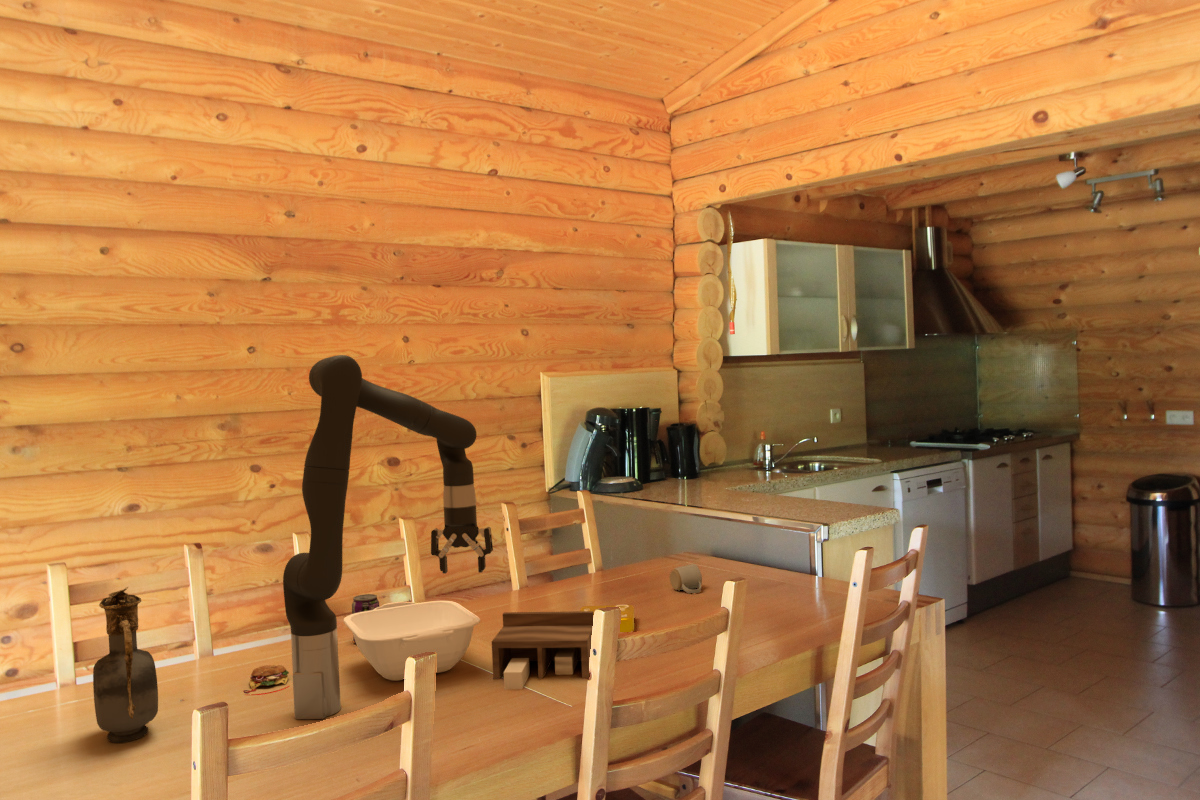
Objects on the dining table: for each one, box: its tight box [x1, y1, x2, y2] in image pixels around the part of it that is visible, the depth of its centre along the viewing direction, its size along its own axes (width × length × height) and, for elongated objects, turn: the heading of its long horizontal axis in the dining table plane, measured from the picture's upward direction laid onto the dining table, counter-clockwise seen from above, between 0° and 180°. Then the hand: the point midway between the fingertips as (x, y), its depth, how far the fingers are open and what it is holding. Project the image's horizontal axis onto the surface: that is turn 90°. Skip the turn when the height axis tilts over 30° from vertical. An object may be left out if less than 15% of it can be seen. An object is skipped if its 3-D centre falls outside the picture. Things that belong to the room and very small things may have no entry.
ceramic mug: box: [669, 563, 703, 594], centre depth 280 cm, size 11×8×8 cm
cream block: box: [503, 658, 531, 690], centre depth 202 cm, size 10×4×4 cm, turn 175°
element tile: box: [579, 604, 635, 632], centre depth 244 cm, size 15×15×5 cm
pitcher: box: [92, 586, 159, 744], centre depth 177 cm, size 11×19×30 cm, turn 33°
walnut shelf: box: [491, 610, 594, 680], centre depth 210 cm, size 14×22×12 cm, turn 84°
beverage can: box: [351, 593, 380, 643], centre depth 238 cm, size 7×7×12 cm
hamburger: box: [242, 664, 291, 696], centre depth 207 cm, size 14×14×6 cm
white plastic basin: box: [343, 600, 481, 682], centre depth 213 cm, size 34×28×13 cm
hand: (463, 572), depth 210 cm, fingers open, 8 cm apart
